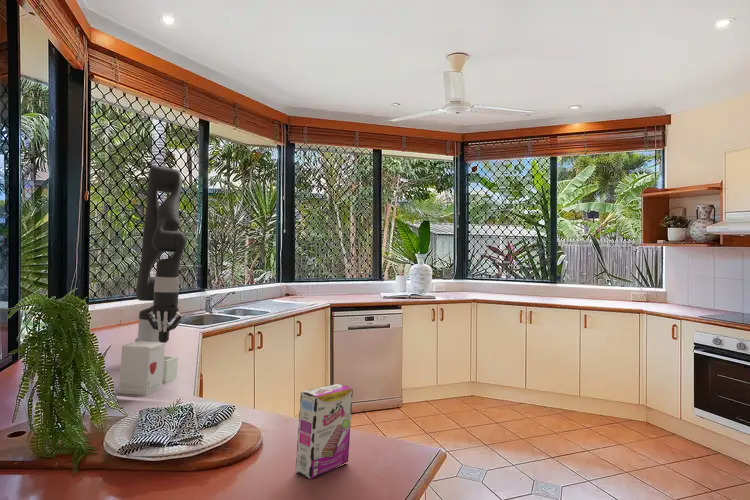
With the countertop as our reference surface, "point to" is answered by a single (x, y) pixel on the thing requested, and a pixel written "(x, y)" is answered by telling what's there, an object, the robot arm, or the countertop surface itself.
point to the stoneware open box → (169, 368)
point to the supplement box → (141, 367)
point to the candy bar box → (323, 429)
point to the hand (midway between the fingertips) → (163, 342)
